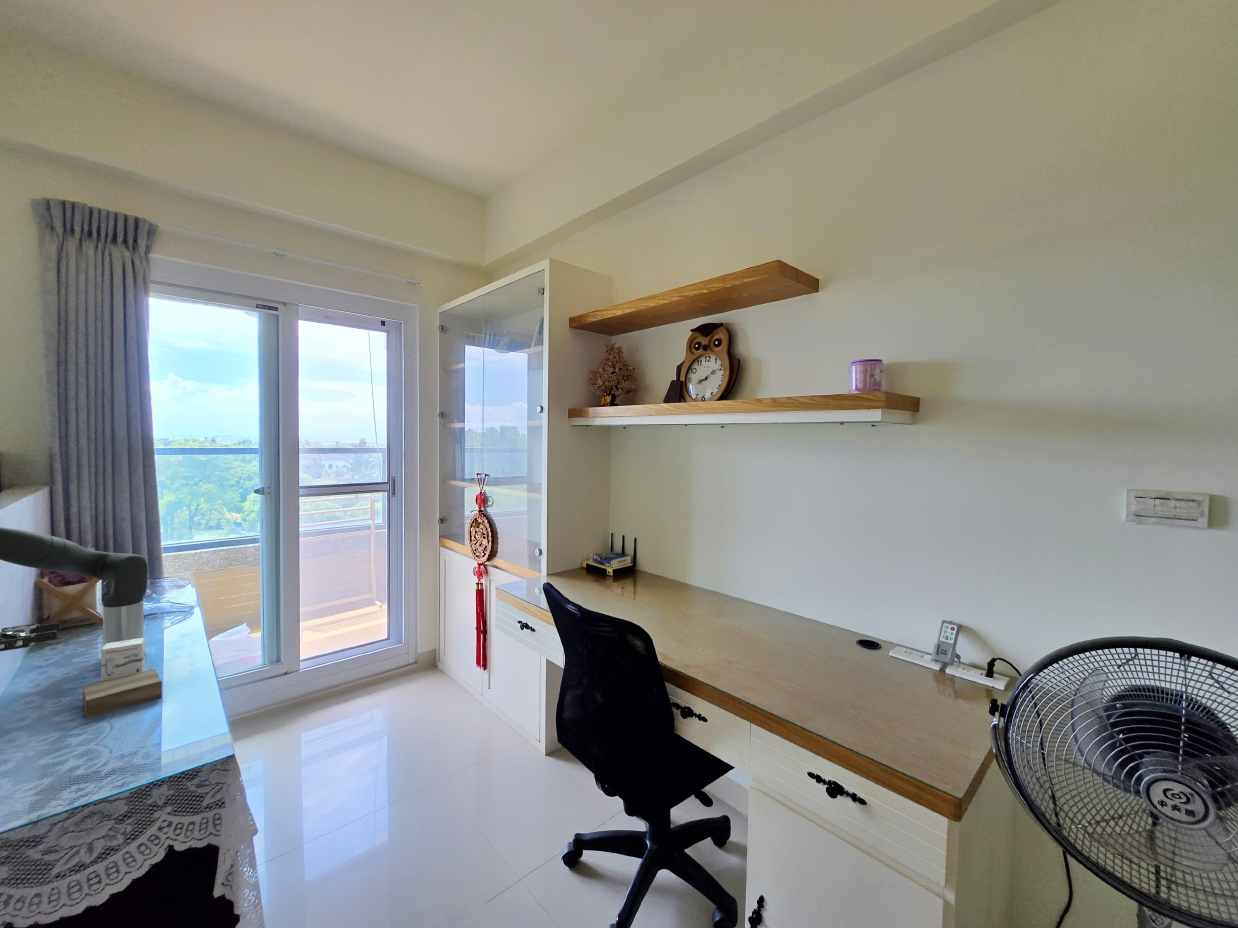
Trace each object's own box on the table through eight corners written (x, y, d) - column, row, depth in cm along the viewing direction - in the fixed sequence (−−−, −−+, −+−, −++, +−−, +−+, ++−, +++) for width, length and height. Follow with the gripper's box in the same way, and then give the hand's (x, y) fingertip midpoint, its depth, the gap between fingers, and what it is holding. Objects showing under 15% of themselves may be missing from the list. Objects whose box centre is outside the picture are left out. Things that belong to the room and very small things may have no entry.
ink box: (99, 691, 137) (99, 649, 137) (103, 684, 141) (103, 643, 141) (142, 682, 143) (142, 642, 142) (145, 676, 146) (145, 637, 146)
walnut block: (82, 704, 131) (82, 686, 131) (154, 685, 142) (154, 668, 141) (86, 719, 124) (86, 700, 124) (161, 698, 135) (161, 680, 134)
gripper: (-48, 638, 116) (56, 623, 128) (-34, 623, 126) (61, 610, 138) (-48, 670, 116) (56, 652, 128) (-34, 652, 126) (61, 636, 138)
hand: (58, 630), depth 133 cm, fingers open, 8 cm apart
